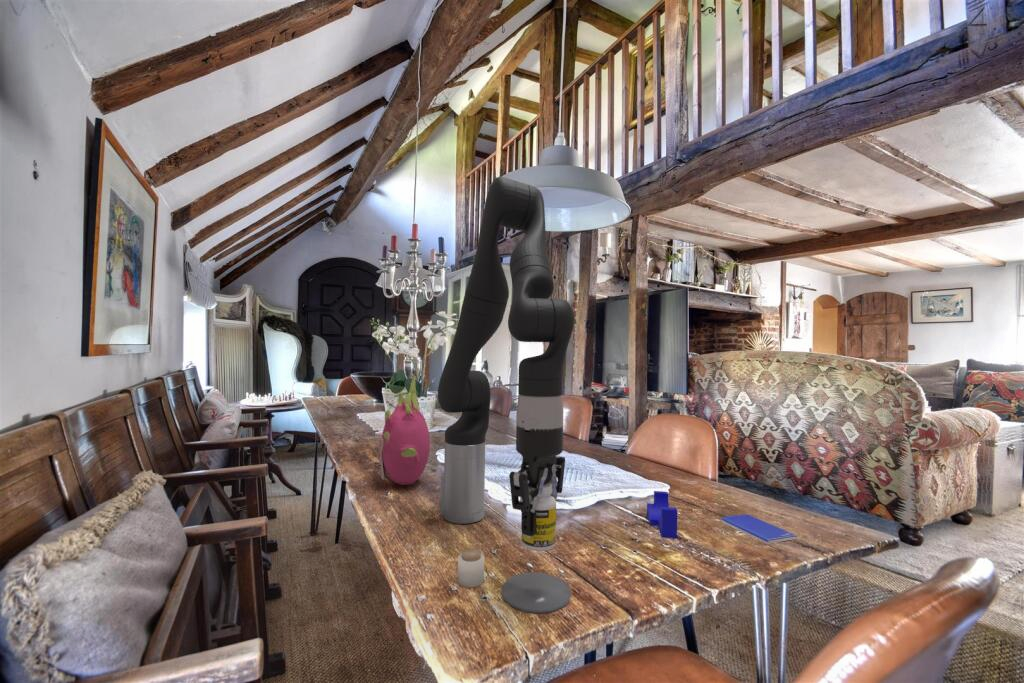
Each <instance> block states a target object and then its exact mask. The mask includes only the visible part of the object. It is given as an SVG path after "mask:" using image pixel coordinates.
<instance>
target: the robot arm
mask: <svg viewBox="0 0 1024 683" xmlns="http://www.w3.org/2000/svg"><path fill="white" fill-rule="evenodd" d="M488 188H489V189H488V192H487V195H486V199H485V204H484V206H483V207H484V209H483V214H482V218H481V224H480V230H479V235H478V241H477V246H476V250H475V255H474V259H473V263H472V267H471V270H470V274H469V277H468V281H467V285H466V289H465V292H464V296H463V301H462V305H461V309H460V314H459V318H458V321H457V326H456V330H455V333H454V336H453V339H452V340H453V341H452V344H451V347H450V350H449V353H448V355H447V358H446V360H445V364H444V366H443V370H442V372H441V375H440V378H439V383H438V386H437V387H438V388H437V401H438V405H439V406H440V408H441V410H443V411H444V412H446V413H449V414H451V413H453V414H454V413H456V414H457V413H461V415H460V417H459V418H458V419H457V421H455V422H454V423H452V424H451V425H450V426H448V427H447V428H446V429H445V430H444V466H443V467H444V468H443V469H444V471H443V473H441V475H440V496H439V497H440V498H439V500H440V504H439V506H440V507H439V509H440V510H439V515H440V516H441V517H443V519H444V520H445V521H447V522H449V523H452V524H461V525H463V524H465V525H466V524H472V523H474V524H475V523H477V522H479V521H482V519H484V518H485V494H486V493H485V490H486V489H485V485H486V484H485V483H486V482H485V480H486V478H485V477H486V475H485V474H486V435H487V432H488V430H489V424H490V412H491V411H490V410H491V398H492V397H491V394H492V393H491V385H490V381H489V379H488V377H487V375H486V374H485V373H484V372H483V371H480V370H471V369H472V366H473V364H474V361H475V359H476V357H477V356H478V354H479V353H480V351H481V350H482V349H483V347H484V346H485V345H486V344H487V343H489V341H490V339H491V338H492V337H493V336H494V334H495V333H496V332H497V331H498V329H499V328H500V326H501V324H502V322H503V318H504V316H505V312H506V308H507V306H508V301H509V296H510V288H509V284H508V281H507V277H506V274H505V270H504V268H503V265H502V262H501V258H500V252H499V232H500V227H504V228H508V229H512V230H515V231H518V232H519V231H520V232H521V231H522V232H523V233H524V236H523V238H522V239H521V240H520V241H519V242H518V243H517V244H516V246H515V247H514V249H513V250H512V253H511V255H510V258H509V272H510V277H511V284H512V299H511V300H512V301H511V304H510V305H511V306H510V310H509V313H508V319H507V327H508V331H509V333H510V334H511V337H513V338H514V340H516V341H518V342H522V343H548V346H547V348H546V350H545V351H544V352H543V353H542V354H539V355H535V356H530V357H526V358H523V359H522V360H520V362H519V364H518V380H517V381H518V383H517V384H518V389H517V390H518V391H517V392H518V393H517V404H516V421H515V422H516V423H515V424H516V426H515V427H516V428H515V429H516V430H515V434H516V435H515V437H516V438H515V450H516V452H517V453H518V454H520V455H521V456H522V461H521V465H520V469H519V470H518V471H510V473H509V476H508V477H509V485H510V496H511V506H512V509H513V510H517V511H520V513H521V515H520V516H521V519H520V520H521V521H520V522H521V527H520V528H521V534H522V533H523V534H524V535H528V536H533V535H535V534H536V511H535V510H536V506H537V501H538V498H539V497H541V495H542V491H543V486H544V485H545V484H547V483H549V482H550V483H552V494H551V496H552V497H554V498H555V500H557V499H558V494H561V493H562V492H563V486H564V479H565V475H564V474H565V468H566V467H565V465H566V457H565V456H559V455H561V454H562V453H563V451H564V402H563V371H564V370H563V369H564V365H565V359H566V355H567V351H568V348H569V343H570V340H571V338H572V334H573V330H574V327H575V313H574V310H573V307H572V305H571V304H570V303H569V302H568V301H567V300H566V299H561V298H551V296H552V295H553V292H554V291H555V289H554V288H555V283H554V277H553V274H552V270H551V266H550V261H549V259H548V253H547V243H546V239H547V238H546V215H545V214H546V213H545V212H546V211H545V200H544V196H543V193H542V192H541V190H540V189H539V188H537V187H536V186H533V185H530V184H528V183H524V182H521V181H517V180H514V179H512V178H511V179H510V178H508V177H503V176H498V177H495V178H494V179H493V180H492V182H491V184H490V186H489V187H488ZM528 486H529V487H532V488H536V490H534V491H532V490H528ZM529 495H531V496H532V499H531V503H530V501H529ZM519 498H520V499H519Z"/></svg>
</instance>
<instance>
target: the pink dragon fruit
mask: <svg viewBox="0 0 1024 683" xmlns="http://www.w3.org/2000/svg"><path fill="white" fill-rule="evenodd" d="M419 402H420V401H419V400H418V395H417V390H416V376H415V375H412V376H411V383H410V387H409V391H408V393H407V395H406V396H405V397H404V394H403V392H399V393H398V399H397V403H396V406H395V408H394V410H393V412H392V413H391V411H390V410H388V409H387V410H386V411H385V412H384V423H385V424H384V427H383V429H382V434H381V437H380V438H379V464H380V469H381V470H380V473H381V480H385V479H386V476H387V475H388V476H389V478H390V479H391V480H392V481H393V482H394V483H395V484H397V485H401V486H409V485H412V484H414V483H415V482H416V481H418V480H419V478H420V477H421V476H422V474H423V473H424V471H425V469H426V466H427V463H428V461H429V456H430V449H431V438H430V432H429V429H428V428H429V427H428V424H427V421H426V419H425V416H424V415H423V414H422V412H421V409H420V408H421V407H420V403H419Z"/></svg>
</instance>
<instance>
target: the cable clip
mask: <svg viewBox="0 0 1024 683" xmlns="http://www.w3.org/2000/svg"><path fill="white" fill-rule="evenodd" d="M669 505H670V504H669V492H668V491H659V490H657V491H656V490H654V491H653V503H648V502H647V503H646V517H647V519H648V522H649V525H650V526H654V527H656V526H657V528H658V531H659V533H660V536H661V538H666V539H667V538H668V539H677V537H678V509H677V507H673V506H669Z"/></svg>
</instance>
